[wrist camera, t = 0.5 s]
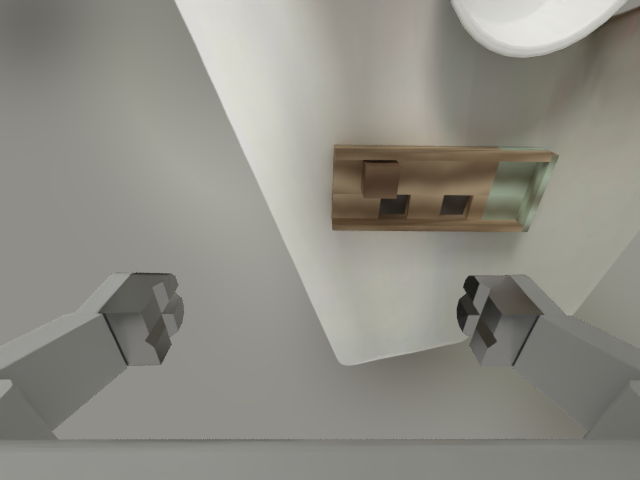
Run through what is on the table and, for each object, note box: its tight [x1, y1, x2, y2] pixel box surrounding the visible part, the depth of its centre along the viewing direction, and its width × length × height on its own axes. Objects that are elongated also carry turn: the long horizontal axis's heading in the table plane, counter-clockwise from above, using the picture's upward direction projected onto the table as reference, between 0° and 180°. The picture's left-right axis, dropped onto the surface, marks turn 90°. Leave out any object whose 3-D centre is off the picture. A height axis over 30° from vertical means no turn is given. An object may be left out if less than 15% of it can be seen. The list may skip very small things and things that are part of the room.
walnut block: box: [361, 160, 401, 199], centre depth 48 cm, size 5×5×4 cm
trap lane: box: [332, 145, 559, 232], centre depth 51 cm, size 13×33×4 cm, turn 89°
